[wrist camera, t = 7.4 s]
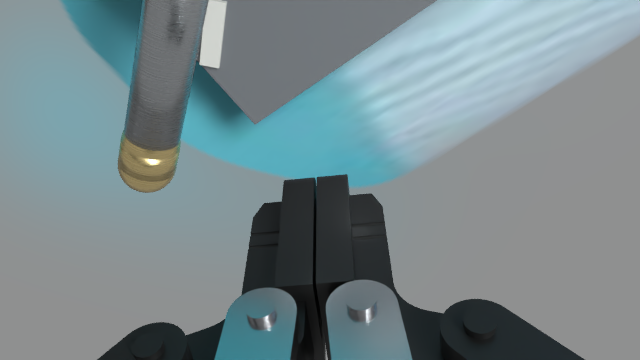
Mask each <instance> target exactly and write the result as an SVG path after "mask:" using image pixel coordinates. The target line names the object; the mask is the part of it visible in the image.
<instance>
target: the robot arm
mask: <svg viewBox="0 0 640 360" xmlns="http://www.w3.org/2000/svg"><path fill="white" fill-rule="evenodd" d="M325 343H326V349H327V356H328V360H584V359H583V358H581V357H580V356H578V355H577V354H575V353H574V352H572V351H571V350H569V349H568V348H566V347H564V346H563V345H561V344H560V343H558V342H557V341H555V340H554V339H552V338H551V337H549V336H548V335H546V334H544V333H543V332H541V331H540V330H538V329H537V328H535V327H534V326H532V325H531V324H529V323H527V322H526V321H525V320H523V319H521V318H520V317H518V316H517V315H515V314H513V313H512V312H511V311H509V310H507V309H506V308H504V307H503V306H501V305H499V304H497V303H494V302H492V301H488V300H482V299H469V300H464V301H460V302H458V303H455V304H453V305H452V306H450V307H449V308H448V309H447V310H446V311H445V313H444V314H443V313H438V312H432V311H427V310H423V309H420V308H417V307H414V306H413V305H411V304H409V303H407V302H406V301H405V300H403V299H402V298H401V297H400V296H399V294H398V293H397V291H396V289H395V287H394V283H393V278H392V271H391V264H390V256H389V250H388V242H387V236H386V229H385V221H384V214H383V207H382V205H381V204H380V203H379V202H378V201H377V199H376V198H375V197H374V196H373V195H372V194H360V195H349V185H348V176H347V174H346V175H336V176H325V177H317V186H316V180H315V178H305V179H294V180H285V181H284V185H283V196H282V202H273V203H264V204H263V205H262V207H261V208H260V209H259V211H258V212H257V213H256V215H255V216H254V217H253V222H252V229H251V237H250V242H249V250H248V256H247V262H246V269H245V276H244V282H243V289H242V295H241V296H240V297H239V298H237V299H236V300H235V301H234V303H232V305H231V306H230V308H229V309H228V312H227V315H226V319H224V320H223V321H221V322H220V323H218V324H216V325H214V326H211V327H209V328H206V329H204V330H201V331H198V332H195V333H192V334H189V335H186V336H185V334H184V332H183V331H182V329H180V328H179V327H178V326H175V325H174V324H170V323H164V322H162V323H161V322H160V323H152V324H148V325H145V326H142V327H140V328H138V329H136V330H134V331H132V332H131V333H130V334H128V335H127V336H126V337H125V338H123V339H122V340H121V341H120V342H118V343H117V344H116V345H115V346H114V347H112V348H111V349H110V350H109V351H107V352H106V353H105V354H104V355H103V356H101V357H100V358H99V359H98V360H325Z"/></svg>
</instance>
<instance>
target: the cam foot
mask: <svg viewBox="0 0 640 360" xmlns="http://www.w3.org/2000/svg"><path fill="white" fill-rule="evenodd" d="M208 1H209V0H143V1H142V8H141V15H140V22H139V29H138V36H137V43H136V50H135V57H134V64H133V71H132V78H131V85H130V92H129V100H128V107H127V114H126V121H125V128H124V131H123V133H122V137H121V143H120V150H119V158H118V170H119V174H120V176H121V178H122V180H123V181H124V182H125V183H126V184H127V185H128V186H129V187H130V188H132V189H134V190H136V191H139V192H145V193H148V192H155V191H158V190H160V189H162V188H164V187H165V186H166V185H167V184H168V183H170V181H171V180H172V178H173V176H174V174H175V171H176V166H177V161H178V156H179V151H180V144H181V142H180V138H181V133H182V128H183V123H184V118H185V114H186V109H187V104H188V99H189V94H190V89H191V84H192V79H193V75H194V70H195V65H196V60H197V55H198V50H199V45H200V40H201V35H202V31H203V26H204V21H205V16H206V11H207V6H208Z"/></svg>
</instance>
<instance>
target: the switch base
mask: <svg viewBox="0 0 640 360" xmlns="http://www.w3.org/2000/svg"><path fill="white" fill-rule="evenodd" d="M435 1H436V0H209V1H208V6H207V11H206V16H205V21H204V26H203V31H202V35H201V40H200V45H199V50H198V55H197V61H198V62H199V63H200V64H199V65H202V67H203V68H204V69H205V70H206V71H207V72H208V73H209V74H210V75H211V76H212V78H213V79H214V80H215V81H216V82H217V83H218V84H219V85H220V86H221V88H222V89H223V90H224V91H225V92H226V93H227V94H228V95H229V96H230V97H231V99H232V100H233V101H234V102H235V103H236V104H237V105H238V106H239V107H240V108H241V110H242V111H243V112H244V113H245V114H246V115H247V116H248V117H249V118H250V120H251V121H252V122H253V123H254V124H256V123H258V122H259V121H261V120H262V119H264V118H265V117H267V116H268V115H270V114H271V113H273V112H274V111H276V110H277V109H278V108H280V107H281V106H283V105H284V104H286V103H287V102H289V101H290V100H292V99H293V98H295V97H296V96H297V95H299V94H300V93H302V92H303V91H305V90H306V89H308V88H309V87H311V86H312V85H314V84H315V83H316V82H318V81H319V80H321V79H322V78H324V77H325V76H327V75H328V74H330V73H331V72H333V71H334V70H335V69H337V68H338V67H340V66H341V65H343V64H344V63H346V62H347V61H349V60H350V59H352V58H353V57H355V56H356V55H357V54H359V53H360V52H362V51H363V50H365V49H366V48H368V47H369V46H371V45H372V44H374V43H375V42H376V41H378V40H379V39H381V38H382V37H384V36H385V35H387V34H388V33H390V32H391V31H393V30H394V29H395V28H397V27H398V26H400V25H401V24H403V23H404V22H406V21H407V20H409V19H410V18H412V17H413V16H414V15H416V14H417V13H419V12H420V11H422V10H423V9H425V8H426V7H428V6H429V5H431V4H432V3H434V2H435Z"/></svg>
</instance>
